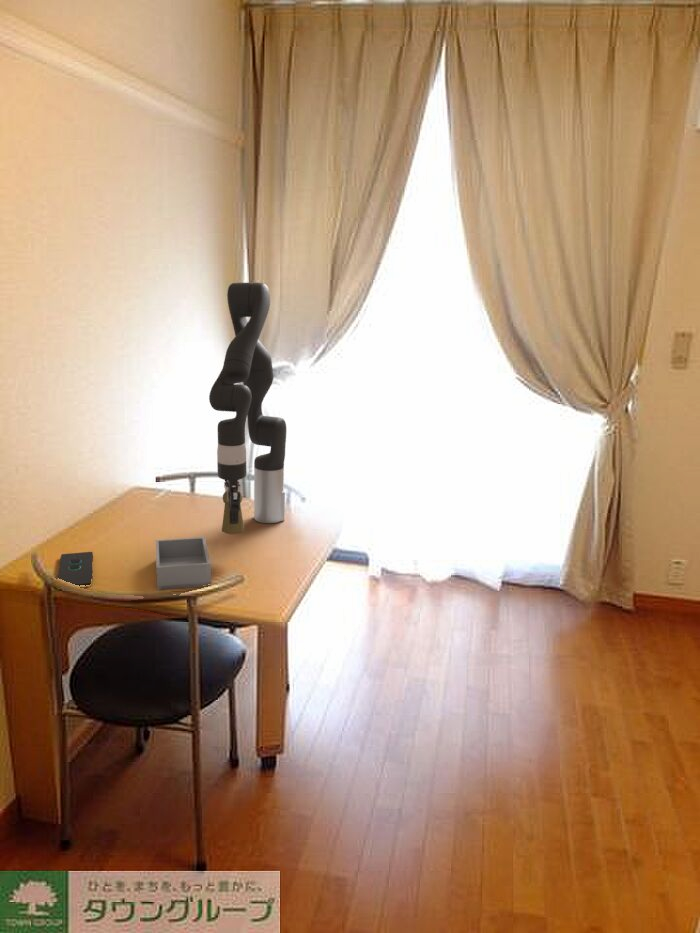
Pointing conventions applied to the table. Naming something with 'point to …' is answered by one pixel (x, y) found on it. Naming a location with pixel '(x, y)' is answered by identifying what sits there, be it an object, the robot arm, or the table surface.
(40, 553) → the table surface
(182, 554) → the box
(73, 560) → the smart home device
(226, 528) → the olive pawn
